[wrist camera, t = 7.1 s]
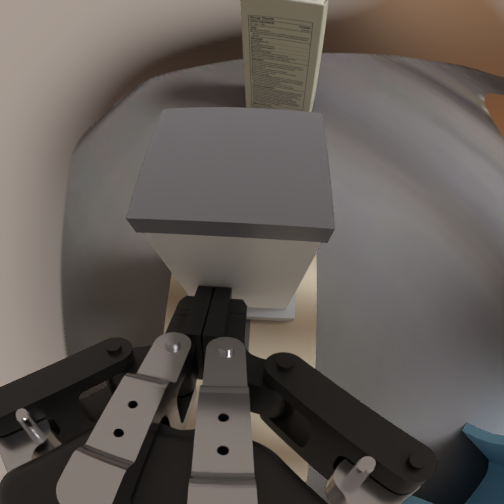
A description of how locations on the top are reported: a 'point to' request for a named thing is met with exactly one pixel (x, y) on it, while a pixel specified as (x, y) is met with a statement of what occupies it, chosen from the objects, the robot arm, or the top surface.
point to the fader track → (265, 344)
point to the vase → (498, 475)
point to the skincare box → (282, 52)
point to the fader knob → (237, 201)
